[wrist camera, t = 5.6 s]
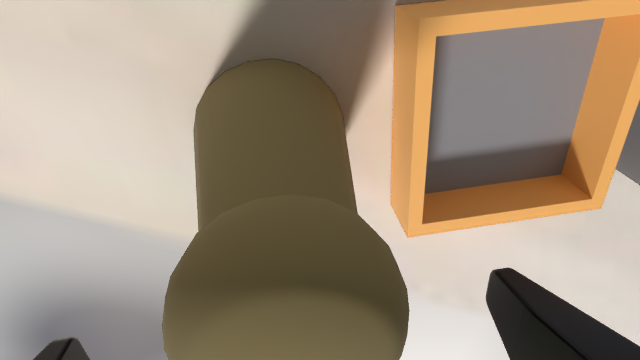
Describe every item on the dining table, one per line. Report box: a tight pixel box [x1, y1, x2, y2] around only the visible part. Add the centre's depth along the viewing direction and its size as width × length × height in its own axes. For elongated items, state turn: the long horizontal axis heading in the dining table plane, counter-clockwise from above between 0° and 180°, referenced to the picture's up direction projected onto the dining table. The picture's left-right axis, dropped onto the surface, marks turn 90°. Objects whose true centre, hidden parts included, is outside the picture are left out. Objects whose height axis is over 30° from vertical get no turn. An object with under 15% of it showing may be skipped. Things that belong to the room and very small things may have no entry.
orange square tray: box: [391, 0, 640, 238], centre depth 17 cm, size 9×9×2 cm
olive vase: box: [162, 59, 409, 360], centre depth 12 cm, size 6×6×11 cm
